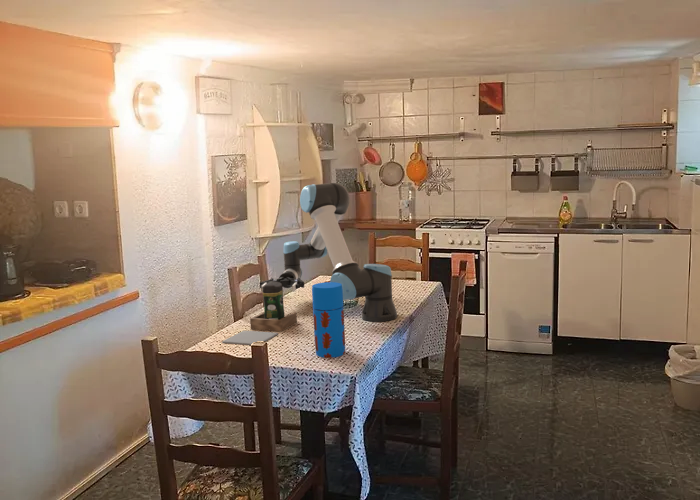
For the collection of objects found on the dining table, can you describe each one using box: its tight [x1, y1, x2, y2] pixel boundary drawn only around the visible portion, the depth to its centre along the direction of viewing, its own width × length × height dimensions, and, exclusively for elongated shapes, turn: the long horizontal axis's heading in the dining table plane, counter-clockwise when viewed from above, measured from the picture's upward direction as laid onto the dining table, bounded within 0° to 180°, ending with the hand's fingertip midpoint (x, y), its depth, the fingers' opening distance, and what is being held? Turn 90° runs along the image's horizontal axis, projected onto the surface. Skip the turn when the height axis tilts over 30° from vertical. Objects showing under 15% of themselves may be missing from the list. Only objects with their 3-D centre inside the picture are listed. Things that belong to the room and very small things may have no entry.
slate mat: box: [221, 330, 279, 346], centre depth 265 cm, size 16×16×1 cm
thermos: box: [311, 281, 346, 359], centre depth 240 cm, size 11×11×25 cm
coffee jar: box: [261, 282, 286, 320], centre depth 282 cm, size 10×8×19 cm
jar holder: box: [249, 311, 298, 332], centre depth 283 cm, size 14×14×4 cm
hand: (277, 288), depth 292 cm, fingers open, 13 cm apart
